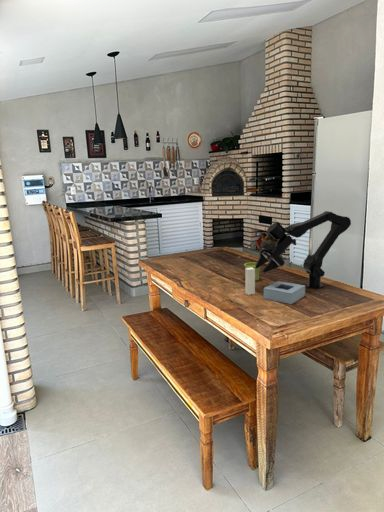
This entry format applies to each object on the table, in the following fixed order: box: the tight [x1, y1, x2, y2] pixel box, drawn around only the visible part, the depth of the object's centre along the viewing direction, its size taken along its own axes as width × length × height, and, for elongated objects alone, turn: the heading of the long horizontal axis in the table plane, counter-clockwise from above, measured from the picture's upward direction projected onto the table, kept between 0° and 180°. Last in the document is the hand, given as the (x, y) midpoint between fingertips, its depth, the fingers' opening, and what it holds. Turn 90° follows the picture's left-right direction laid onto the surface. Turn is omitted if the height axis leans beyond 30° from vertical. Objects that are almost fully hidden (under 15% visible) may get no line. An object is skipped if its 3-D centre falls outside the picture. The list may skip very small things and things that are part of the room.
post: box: [244, 267, 256, 296], centre depth 187 cm, size 4×4×12 cm
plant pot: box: [243, 261, 262, 282], centre depth 210 cm, size 9×9×9 cm
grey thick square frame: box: [263, 280, 306, 305], centre depth 181 cm, size 14×14×5 cm
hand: (259, 269), depth 187 cm, fingers open, 9 cm apart
